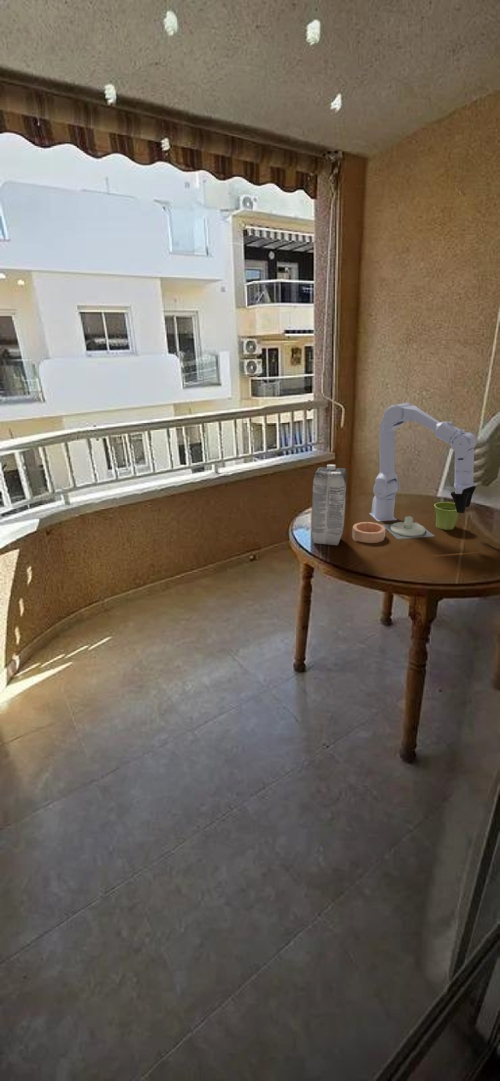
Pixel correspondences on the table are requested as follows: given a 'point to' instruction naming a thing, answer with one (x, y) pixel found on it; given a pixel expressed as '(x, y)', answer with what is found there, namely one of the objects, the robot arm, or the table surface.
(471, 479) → the robot arm
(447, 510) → the plant pot
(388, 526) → the mat
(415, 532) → the lid
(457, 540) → the table surface
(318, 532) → the juice carton
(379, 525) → the bowl
